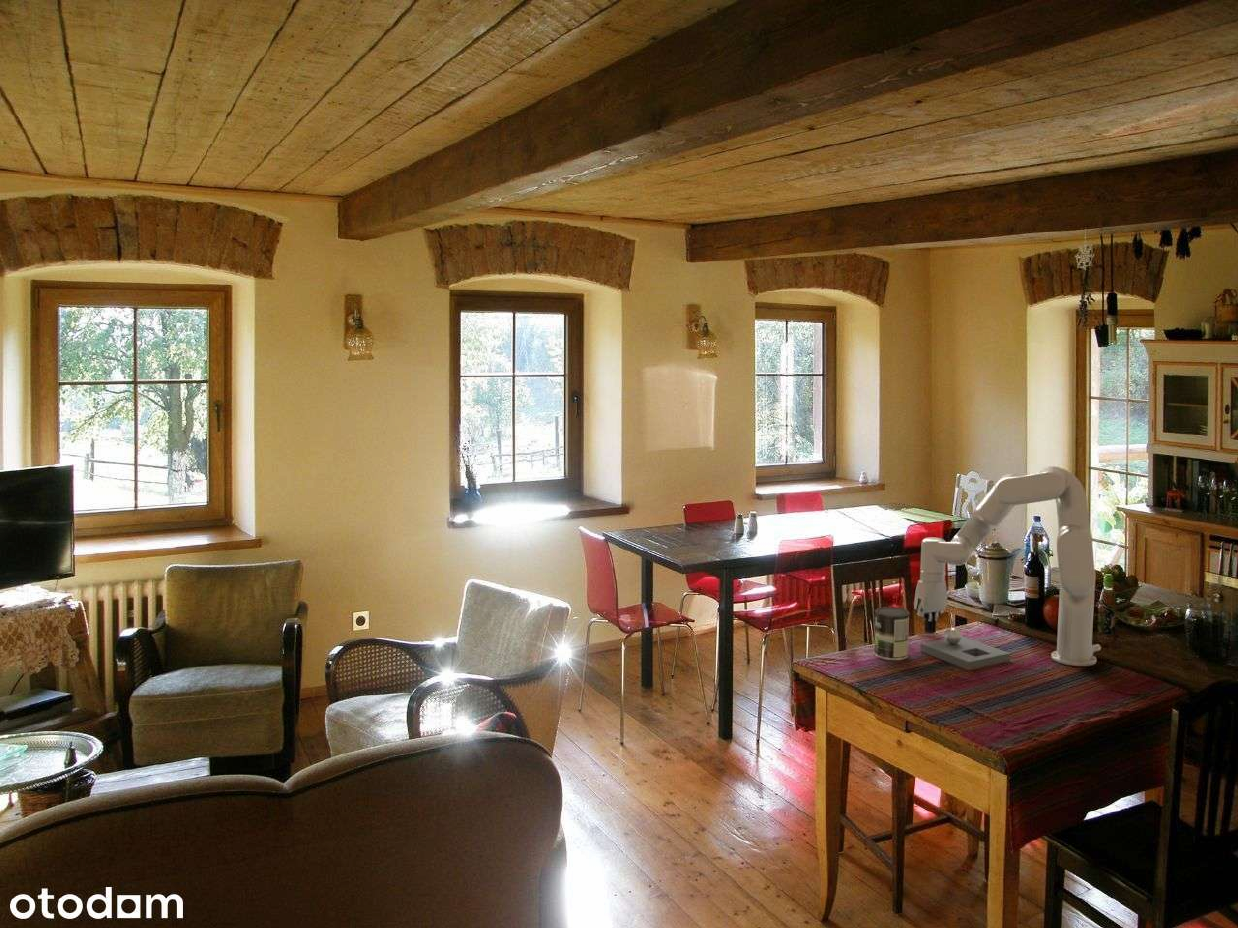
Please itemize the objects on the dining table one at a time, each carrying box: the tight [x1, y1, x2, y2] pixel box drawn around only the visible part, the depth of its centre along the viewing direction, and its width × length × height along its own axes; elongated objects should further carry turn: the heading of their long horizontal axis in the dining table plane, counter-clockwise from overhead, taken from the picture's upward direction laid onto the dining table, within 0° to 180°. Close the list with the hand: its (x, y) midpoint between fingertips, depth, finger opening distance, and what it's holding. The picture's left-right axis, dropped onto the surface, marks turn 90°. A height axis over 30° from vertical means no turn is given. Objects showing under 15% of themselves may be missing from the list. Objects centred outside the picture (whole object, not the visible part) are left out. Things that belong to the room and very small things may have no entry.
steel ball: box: [944, 627, 962, 644], centre depth 315 cm, size 5×5×5 cm
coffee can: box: [873, 606, 911, 661], centre depth 312 cm, size 10×10×14 cm
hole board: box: [920, 635, 1011, 671], centre depth 311 cm, size 17×20×2 cm
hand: (930, 631), depth 324 cm, fingers closed
